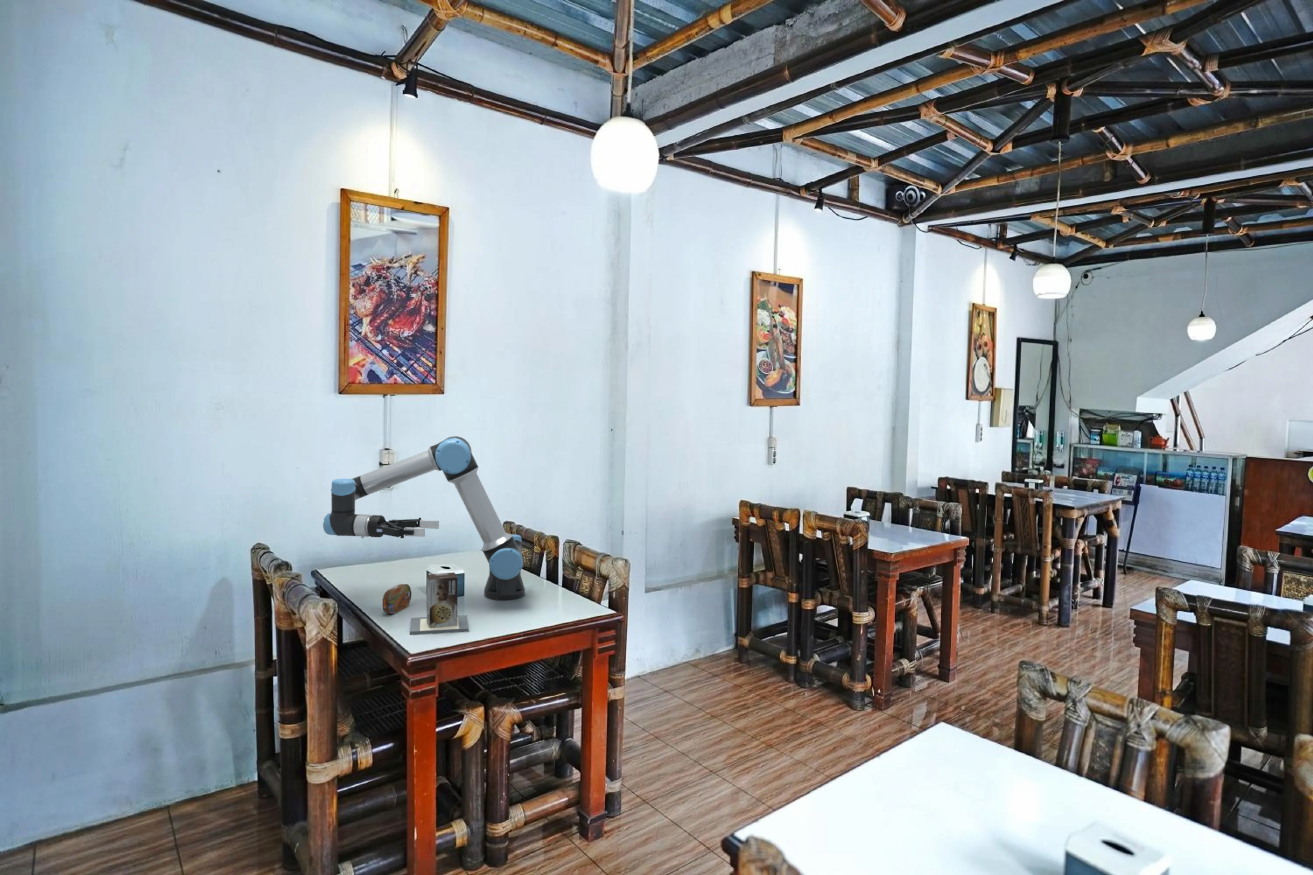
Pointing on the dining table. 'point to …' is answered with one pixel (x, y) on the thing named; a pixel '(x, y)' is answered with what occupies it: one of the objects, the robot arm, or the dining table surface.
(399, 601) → the tin
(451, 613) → the coffee box
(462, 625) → the mat
